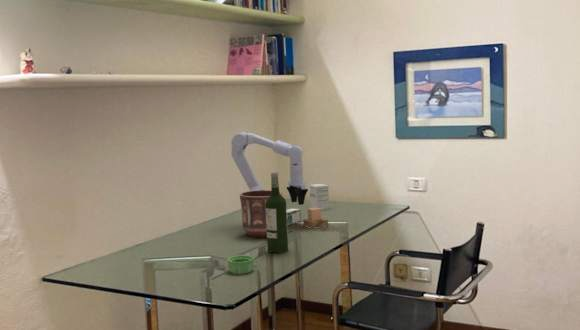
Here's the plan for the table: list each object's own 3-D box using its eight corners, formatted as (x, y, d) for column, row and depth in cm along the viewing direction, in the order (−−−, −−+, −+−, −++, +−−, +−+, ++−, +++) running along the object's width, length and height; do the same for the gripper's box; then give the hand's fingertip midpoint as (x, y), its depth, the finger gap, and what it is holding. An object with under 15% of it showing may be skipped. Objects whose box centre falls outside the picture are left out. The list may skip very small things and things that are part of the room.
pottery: (246, 241, 252) (244, 197, 250) (238, 232, 269) (236, 191, 267) (287, 237, 257) (286, 194, 255) (277, 229, 274) (275, 189, 272)
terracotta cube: (312, 221, 272) (311, 210, 272) (308, 219, 276) (307, 208, 276) (321, 219, 274) (320, 208, 273) (317, 218, 278) (316, 207, 277)
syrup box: (302, 221, 288) (283, 227, 277) (292, 219, 292) (272, 225, 280) (301, 209, 287) (282, 214, 276) (291, 208, 291) (272, 213, 280)
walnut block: (312, 230, 270) (312, 222, 270) (303, 227, 277) (303, 219, 276) (328, 227, 274) (327, 219, 273) (318, 224, 281) (318, 217, 280)
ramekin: (222, 272, 209) (221, 259, 209) (240, 266, 216) (239, 253, 216) (242, 276, 204) (241, 263, 203) (259, 269, 211) (259, 257, 210)
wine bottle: (263, 251, 235) (259, 173, 231) (278, 247, 240) (274, 171, 237) (277, 254, 229) (274, 174, 226) (292, 250, 235) (289, 172, 231)
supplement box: (310, 208, 318) (309, 184, 316) (322, 207, 321) (321, 183, 319) (316, 211, 311) (315, 186, 310) (329, 209, 314) (328, 184, 313)
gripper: (311, 174, 270) (312, 204, 271) (297, 170, 283) (299, 200, 284) (296, 175, 267) (298, 206, 268) (283, 172, 280) (285, 201, 282)
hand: (297, 203), depth 276 cm, fingers open, 7 cm apart
